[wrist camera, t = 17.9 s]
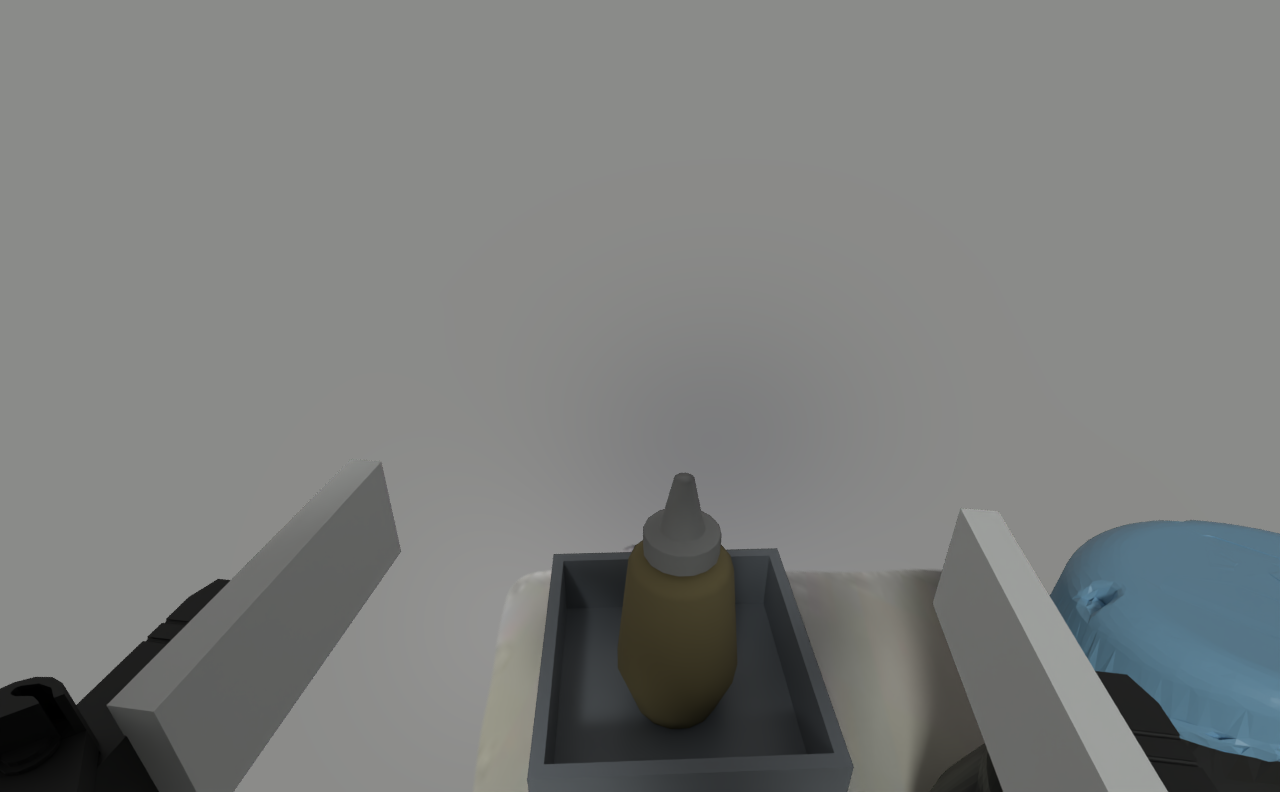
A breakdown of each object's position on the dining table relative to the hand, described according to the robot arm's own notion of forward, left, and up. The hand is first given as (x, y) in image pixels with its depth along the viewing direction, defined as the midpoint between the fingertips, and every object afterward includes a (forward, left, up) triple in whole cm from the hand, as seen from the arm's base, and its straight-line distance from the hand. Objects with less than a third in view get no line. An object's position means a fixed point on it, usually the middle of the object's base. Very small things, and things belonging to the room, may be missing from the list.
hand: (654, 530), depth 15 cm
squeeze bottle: (-11, -14, -29) cm, 34 cm away
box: (-11, -14, -30) cm, 35 cm away
